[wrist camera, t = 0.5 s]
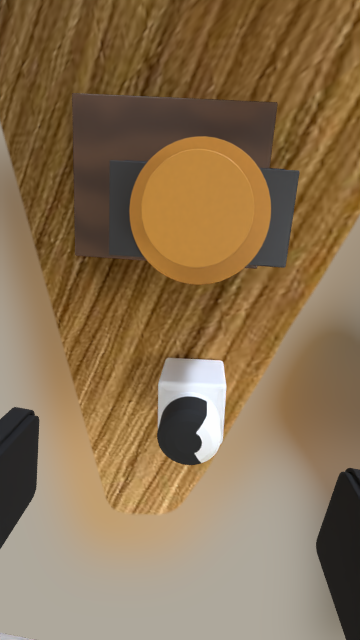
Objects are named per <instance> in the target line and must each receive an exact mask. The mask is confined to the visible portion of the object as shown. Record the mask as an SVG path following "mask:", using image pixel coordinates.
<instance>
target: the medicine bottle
mask: <svg viewBox="0 0 360 640" xmlns="http://www.w3.org/2000/svg"><path fill="white" fill-rule="evenodd" d="M225 399H226V381H225V373H224V365H223V362H222V361H220V360H201V359H182V358H167V359H166V360H165V364H164V367H163V370H162V373H161V376H160V380H159V383H158V433H157V439H158V443H159V446H160V448H161V450H162V451H163V453H164V454H165V455H166V456H167V457H169V458H170V459H172V460H173V461H175V462H178V463H181V464H185V465H195V464H200V463H203V462H205V461H207V460H209V459H210V458H212V457H213V456H214V455H215V454H216V452H217V451H218V449H219V447H220V444H221V443H222V441H223V429H224V414H225Z"/></svg>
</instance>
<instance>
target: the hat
mask: <svg viewBox="0 0 360 640" xmlns="http://www.w3.org/2000/svg"><path fill="white" fill-rule="evenodd" d="M129 212H130V224H131V230H132V233H133V236H134V239H135V241H136V244H137V246H138V248H139V250H140V251H141V253H142V255H143V256H144V257H145V258H146V260H147V261H148V262H149V263H150V264H151V265H152V266H153V267H154V268H155V269H156V270H158V271H159V272H160V273H162V274H164V275H165V276H167V277H169V278H171V279H173V280H176V281H179V282H182V283H187V284H194V285H203V284H212V283H216V282H219V281H222V280H225V279H227V278H229V277H231V276H233V275H235V274H237V273H238V272H239V271H241V270H242V269H243V268H244V267H246V266H247V265H248V264H249V263H250V262H251V261H252V259H253V258H254V257H255V256H256V254H257V253H258V251H259V250H260V248H261V247H262V244H263V242H264V240H265V238H266V235H267V232H268V229H269V224H270V218H271V200H270V194H269V189H268V186H267V183H266V180H265V178H264V176H263V174H262V172H261V171H260V169H259V168H258V166H257V165H256V163H255V162H254V161H253V160H252V159H251V157H250V156H249V155H247V154H246V153H245V152H244V151H243V150H242V149H240V148H238V147H237V146H235V145H234V144H231V143H229V142H227V141H225V140H221V139H218V138H213V137H205V136H204V137H190V138H185V139H182V140H179V141H176V142H174V143H172V144H169V145H167V146H166V147H164V148H163V149H161V150H160V151H159V152H157V153H156V154H155V155H154V156H153V157H152V158H151V159H150V160H149V161H148V162H147V163H146V165H145V166H144V168H143V169H142V171H141V172H140V174H139V176H138V178H137V180H136V182H135V185H134V187H133V190H132V195H131V199H130V209H129Z"/></svg>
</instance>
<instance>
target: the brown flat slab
mask: <svg viewBox="0 0 360 640" xmlns="http://www.w3.org/2000/svg"><path fill="white" fill-rule="evenodd" d="M277 104H278V103H277V102H258V101H235V100H213V99H191V98H169V97H147V96H125V95H103V94H80V93H72V107H73V159H74V211H75V255H76V256H89V257H103V258H116V259H130V260H144V261H147V260H146V258H145V257H132V256H118V255H109V173H110V160H117V161H124V160H131V161H149V160H150V159H151V158H152V157H153V156H154V155H155V154H156V153H157V152H159V151H160V150H161V149H163V148H164V147H166V146H167V145H169V144H172V143H174V142H176V141H179V140H182V139H185V138H190V137H204V136H205V137H213V138H218V139H221V140H225V141H227V142H229V143H231V144H234V145H235V146H237V147H238V148H240V149H242V150H243V151H244V152H245V153H246V154H247V155H249V156H250V157H251V159H252V160H253V161H254V162H255V163H256V165H257V166H258V168H270V160H271V152H272V144H273V136H274V128H275V120H276V112H277ZM244 268H253V269H257V266H256V265H247V266H246V267H244Z"/></svg>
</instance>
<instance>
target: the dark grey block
mask: <svg viewBox="0 0 360 640" xmlns="http://www.w3.org/2000/svg"><path fill="white" fill-rule="evenodd" d="M147 162H148V161H131V160H124V161H117V160H110V173H109V255H118V256H132V257H144V256H143V255H142V253H141V251H140V250H139V248H138V246H137V244H136V241H135V239H134V236H133V233H132V230H131V224H130V212H129V209H130V199H131V195H132V190H133V187H134V185H135V182H136V180H137V178H138V176H139V174H140V172H141V171H142V169H143V168H144V166H145V165H146V163H147ZM259 169H260V171H261V172H262V174H263V176H264V178H265V180H266V183H267V186H268V189H269V194H270V200H271V218H270V224H269V229H268V232H267V235H266V238H265V240H264V242H263V244H262V247H261V248H260V250H259V251H258V253H257V254H256V256H255V257H254V258H253V259H252V261H251V262H250V263H249V264H248V265H256V266H270V267H283V268H284V267H285V266H286V259H287V253H288V246H289V239H290V232H291V226H292V219H293V212H294V205H295V199H296V192H297V185H298V178H299V171H295V170H285V169H273V168H259Z"/></svg>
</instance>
